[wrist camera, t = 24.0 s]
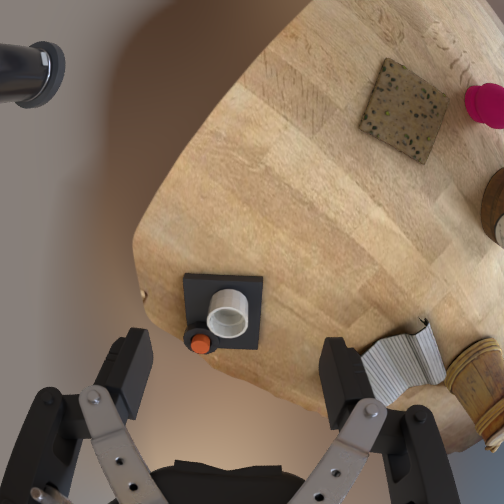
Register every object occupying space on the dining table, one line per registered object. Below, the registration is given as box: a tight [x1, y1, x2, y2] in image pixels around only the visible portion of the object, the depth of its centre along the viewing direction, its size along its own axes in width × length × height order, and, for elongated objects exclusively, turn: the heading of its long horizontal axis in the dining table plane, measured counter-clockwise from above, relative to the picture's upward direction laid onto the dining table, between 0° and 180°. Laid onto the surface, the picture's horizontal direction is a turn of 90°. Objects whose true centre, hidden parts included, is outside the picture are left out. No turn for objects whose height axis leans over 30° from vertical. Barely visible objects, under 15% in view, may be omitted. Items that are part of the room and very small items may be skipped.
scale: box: [183, 273, 263, 354], centre depth 47 cm, size 12×14×4 cm
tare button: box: [191, 334, 210, 354], centre depth 47 cm, size 3×3×2 cm
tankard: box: [444, 338, 504, 453], centre depth 48 cm, size 18×24×25 cm
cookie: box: [359, 58, 449, 165], centre depth 34 cm, size 12×12×1 cm
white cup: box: [207, 289, 248, 338], centre depth 44 cm, size 6×6×5 cm
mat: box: [360, 317, 447, 407], centre depth 55 cm, size 23×24×5 cm
